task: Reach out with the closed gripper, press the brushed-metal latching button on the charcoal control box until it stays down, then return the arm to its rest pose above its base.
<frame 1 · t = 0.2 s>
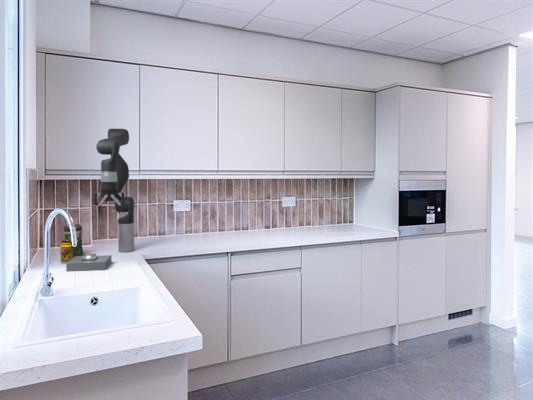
hand: (110, 213, 199), 28 cm above the table, fingers open, 8 cm apart
control box: (90, 266, 205), on the table
green bottle: (73, 256, 228), on the table
button: (89, 258, 205), point 4 cm above the table, slide at 0.0 cm
condiment: (67, 261, 216), on the table
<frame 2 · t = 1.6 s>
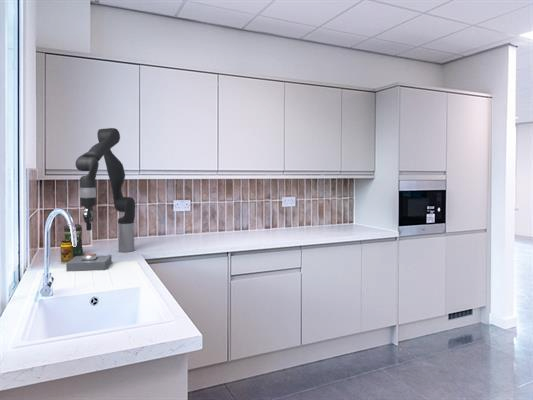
hand: (89, 230, 203), 19 cm above the table, fingers closed
nothing on the table moved.
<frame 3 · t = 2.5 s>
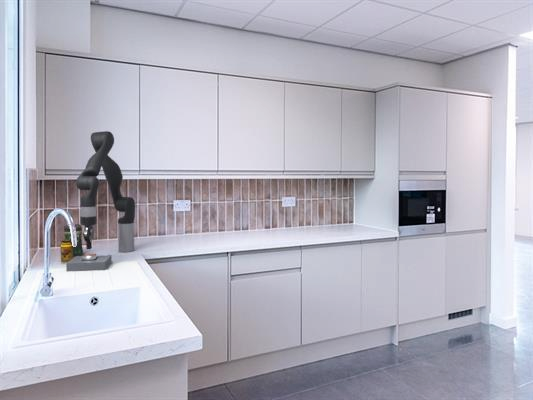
hand: (89, 248, 204), 9 cm above the table, fingers closed
nothing on the table moved.
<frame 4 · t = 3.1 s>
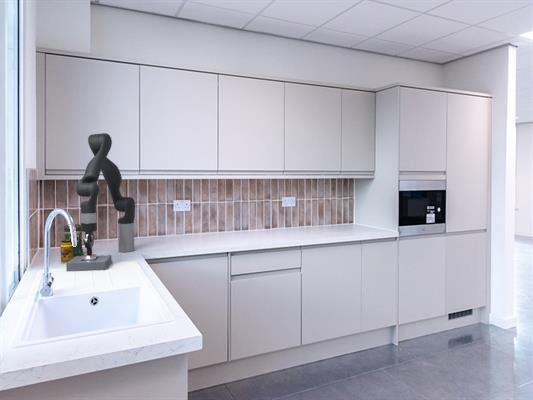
hand: (89, 255, 204), 6 cm above the table, fingers closed
button: (89, 258, 205), point 4 cm above the table, slide at 0.3 cm, touching gripper
everything else where it was.
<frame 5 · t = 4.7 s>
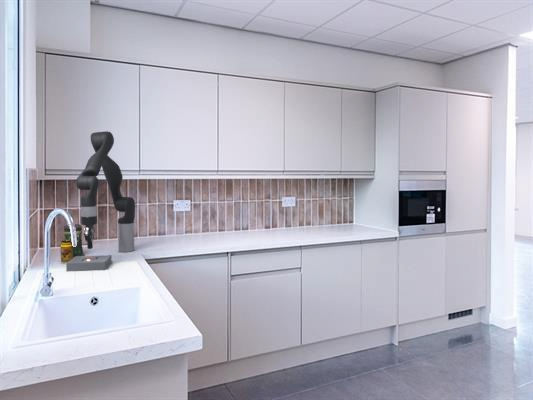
hand: (90, 248, 204), 9 cm above the table, fingers closed
button: (89, 261, 205), point 3 cm above the table, slide at 1.9 cm
everything else where it was.
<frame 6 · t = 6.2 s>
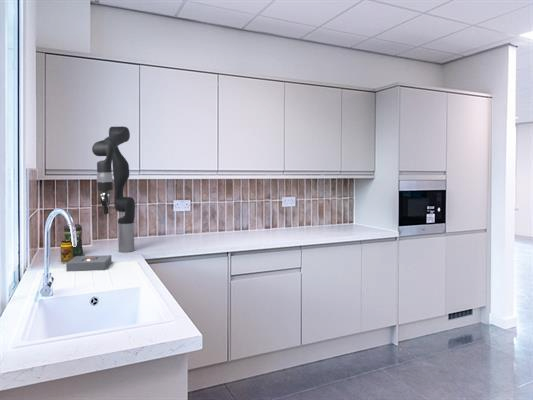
hand: (106, 213, 210), 27 cm above the table, fingers closed
nothing on the table moved.
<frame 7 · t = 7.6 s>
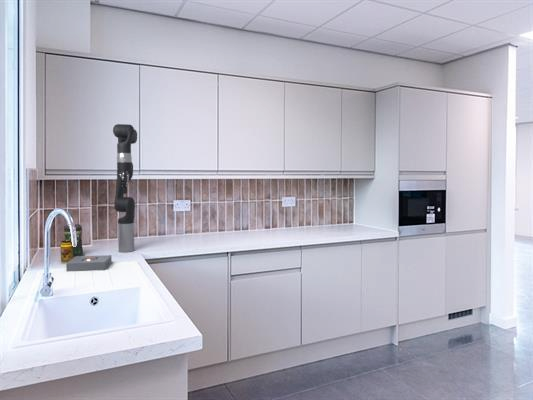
hand: (125, 193, 217), 37 cm above the table, fingers closed
nothing on the table moved.
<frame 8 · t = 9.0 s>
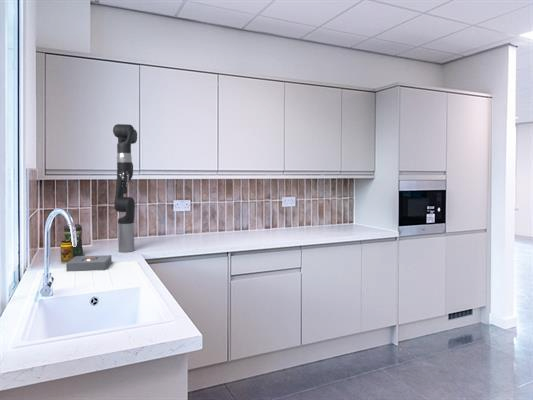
hand: (125, 193, 217), 37 cm above the table, fingers closed
nothing on the table moved.
at the end: button slide at 1.9 cm; condiment moved 0.3 cm from its start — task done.
